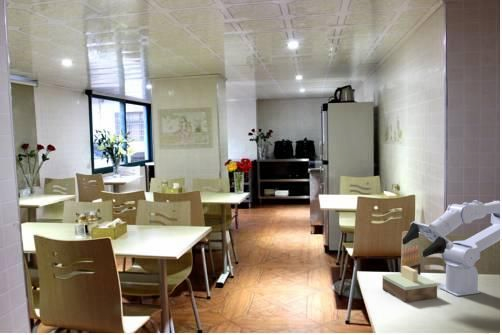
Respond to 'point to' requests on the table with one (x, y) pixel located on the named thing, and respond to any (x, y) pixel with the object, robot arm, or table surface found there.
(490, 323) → the table surface
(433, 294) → the wooden open box
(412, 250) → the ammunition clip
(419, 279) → the lid
